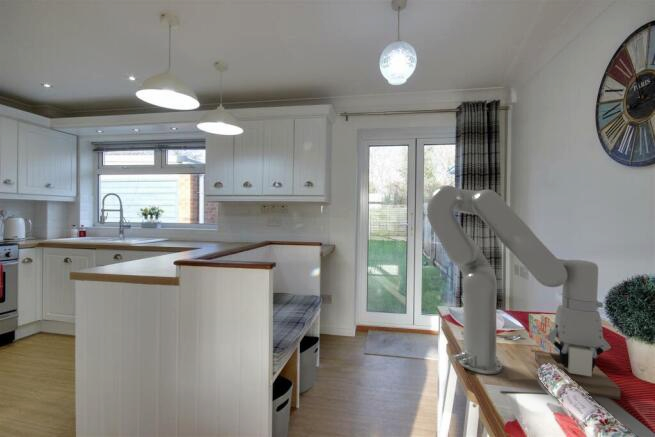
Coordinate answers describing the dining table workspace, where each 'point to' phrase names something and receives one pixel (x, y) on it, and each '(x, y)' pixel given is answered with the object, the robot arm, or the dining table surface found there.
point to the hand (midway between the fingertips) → (576, 366)
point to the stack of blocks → (543, 330)
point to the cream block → (579, 360)
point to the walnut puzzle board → (584, 377)
